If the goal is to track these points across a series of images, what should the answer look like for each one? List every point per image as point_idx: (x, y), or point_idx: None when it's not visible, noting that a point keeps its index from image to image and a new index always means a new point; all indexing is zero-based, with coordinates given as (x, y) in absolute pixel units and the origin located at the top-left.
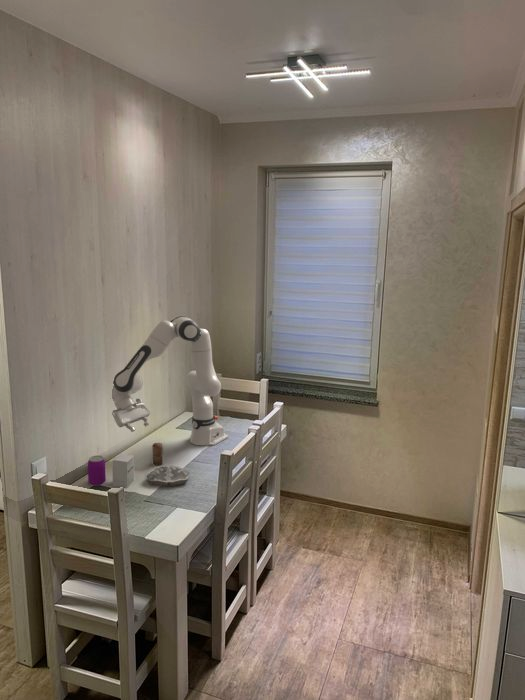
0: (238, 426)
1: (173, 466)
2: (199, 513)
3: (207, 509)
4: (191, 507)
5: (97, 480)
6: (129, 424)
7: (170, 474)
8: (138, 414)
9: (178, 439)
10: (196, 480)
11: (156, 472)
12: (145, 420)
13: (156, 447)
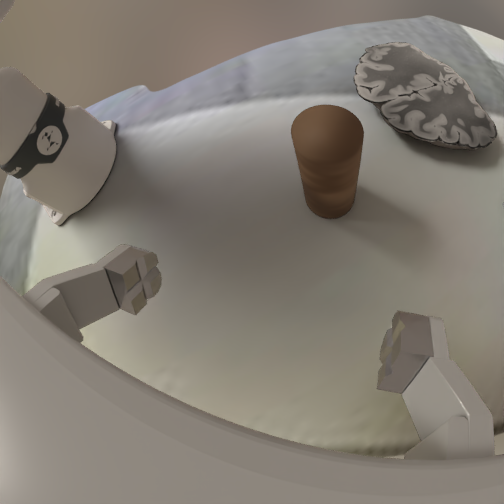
0: None
1: (363, 92)
2: (469, 30)
3: (449, 22)
4: (468, 40)
5: None
6: (466, 422)
7: (422, 81)
8: (22, 403)
9: (78, 252)
10: (370, 46)
11: (445, 125)
12: (80, 293)
13: (358, 125)
